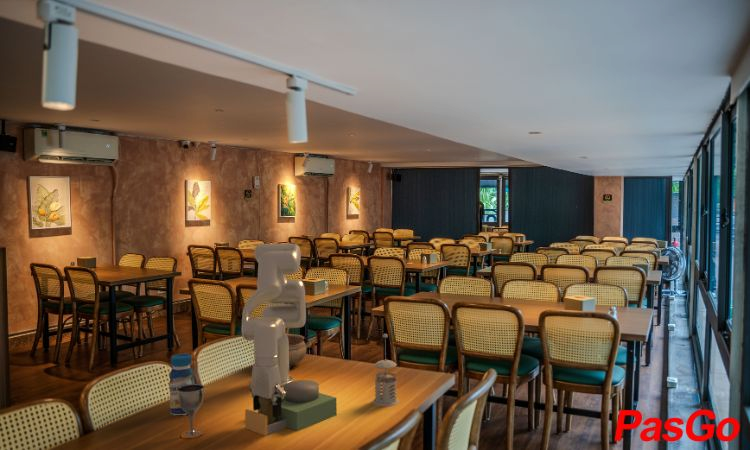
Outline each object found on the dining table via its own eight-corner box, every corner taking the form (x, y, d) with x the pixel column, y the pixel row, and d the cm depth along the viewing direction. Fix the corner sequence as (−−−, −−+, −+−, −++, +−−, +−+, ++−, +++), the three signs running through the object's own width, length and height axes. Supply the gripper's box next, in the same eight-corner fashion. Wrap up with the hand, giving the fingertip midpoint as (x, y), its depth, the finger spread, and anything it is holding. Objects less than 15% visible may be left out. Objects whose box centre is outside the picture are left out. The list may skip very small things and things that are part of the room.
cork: (272, 431, 191) (271, 397, 190) (255, 429, 192) (254, 396, 191) (279, 424, 197) (278, 391, 196) (262, 422, 198) (261, 390, 197)
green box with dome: (236, 424, 197) (235, 394, 196) (297, 402, 217) (296, 375, 217) (275, 439, 184) (274, 407, 183) (336, 414, 204) (336, 386, 204)
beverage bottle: (200, 409, 211) (198, 353, 210) (185, 417, 203) (183, 359, 202) (180, 406, 214) (178, 351, 213) (164, 415, 206) (163, 358, 205)
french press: (403, 399, 219) (402, 332, 218) (391, 409, 209) (390, 339, 208) (379, 395, 224) (378, 329, 222) (365, 405, 213) (365, 336, 212)
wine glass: (182, 430, 192) (180, 384, 192) (207, 429, 193) (206, 383, 192) (175, 440, 184) (174, 392, 184) (202, 438, 185) (201, 391, 184)
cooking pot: (264, 375, 251) (263, 346, 251) (251, 364, 268) (251, 337, 267) (319, 367, 263) (318, 339, 262) (304, 357, 279) (303, 331, 279)
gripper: (240, 358, 196) (241, 409, 197) (274, 368, 185) (275, 422, 185) (258, 354, 202) (259, 403, 202) (292, 362, 190) (293, 415, 191)
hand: (267, 412), depth 194 cm, fingers open, 9 cm apart
